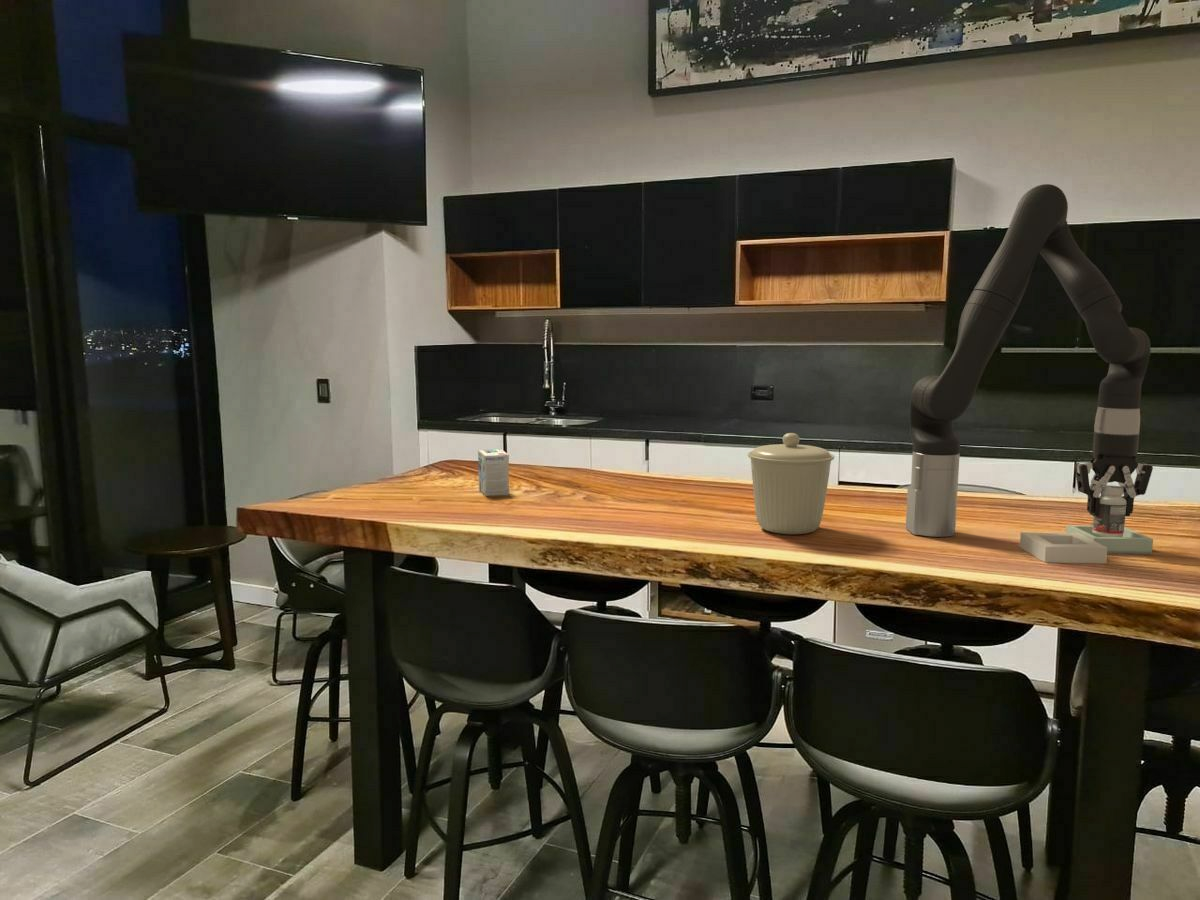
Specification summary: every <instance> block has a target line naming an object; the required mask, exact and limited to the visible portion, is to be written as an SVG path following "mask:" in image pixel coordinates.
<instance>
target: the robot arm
mask: <svg viewBox="0 0 1200 900" xmlns="http://www.w3.org/2000/svg"><path fill="white" fill-rule="evenodd" d="M1067 200H1068V199H1067V197H1066V195H1065V192H1064V191H1063V190H1062V189H1061V188H1060V187H1059V186H1056V185H1053V184H1049V183H1048V184H1046V183H1045V184H1039V185H1036V186H1034V187H1032V188H1031V189H1029V190H1028V191H1026V192H1025V193H1024V194H1023V195H1022V196H1021V198H1020V200H1019V201H1018V203H1017V205H1016V208H1015V211H1014V213H1013V216H1012V218H1011V221H1010V223H1009V225H1008V229H1007V230H1006V233H1005V235H1004V238H1003V240H1002V242H1001V243H1000V244H999V245H1000V246H999V247H998V249H997V250H996V252H995V254H994V255H993V257H992V258H991V260H990V261H989V263H988V265H987V266H986V268H985V269H984V271H983V272H982V275H981V277H980V279H979V280H978V282H977V283H976V285H975V286H974V288H973V290H972V292H971V294H970V296H969V298H968V299H967V301H966V303H965V305H964V307H963V310H962V312H961V315H960V319H959V324H958V331H957V332H958V333H957V339H956V345H955V349H954V351H953V353H952V356H951V358H950V359H949V361H948V362H947V364H946V366H945V368H944V369H943V371H942V372H941V374H940V375H934V374H933V375H932V374H931V375H927V376H924V377H922V378H920V379H919V380H918V381H917V382H916V383H915V385H914V386H913V388H912V391H911V394H910V401H909V403H910V404H909V435H910V439H911V442H912V458H911V459H912V460H911V461H912V462H911V478H910V479H911V480H910V485H909V484H908V486H907V496H906V497H907V499H906V517H905V529H906V530H907V531H908V532H910V533H911V534H912V535H914V536H915V535H916V536H924V537H932V538H933V537H934V538H936V537H937V538H938V537H939V538H946V537H952V536H954V535H955V534H956V525H957V523H956V522H957V521H956V520H957V507H958V506H957V504H958V490H959V489H958V488H959V473H960V472H959V470H960V457H961V455H960V454H961V453H960V452H961V442H960V439H959V438H958V436H957V435H956V434H955V432H954V428H953V422H954V421H956V420H958V419H959V418H960V417H962V416H963V415H964V414H965V412H966V411H967V410H968V408H969V406H970V405H971V402H972V400H973V397H974V395H975V392H976V390H977V388H978V385H979V383H980V380H981V378H982V377H983V376H982V375H983V373H984V371H985V369H986V366H987V364H988V363H989V360H990V358H991V357H992V355H993V353H994V352H995V350H996V349H997V346H998V345H999V342H1000V340H1001V338H1002V336H1003V334H1004V332H1005V331H1006V330H1007V327H1008V326H1009V324H1010V323H1011V321H1012V319H1013V317H1014V316H1015V313H1016V311H1017V309H1018V307H1019V305H1020V304H1021V302H1022V299H1023V296H1024V294H1025V292H1026V290H1027V288H1028V283H1029V282H1030V281H1029V280H1030V277H1031V275H1032V271H1033V269H1034V265H1035V262H1036V260H1037V258H1038V256H1039V254H1040V256H1041V257H1042V258H1043V259H1044V261H1046V263H1047V264H1048V266H1049V267H1050V268H1051V270H1052V271H1053V273H1054V274H1055V277H1057V279H1058V281H1059V283H1060V284H1061V286H1062V287H1063V289H1064V291H1065V293H1066V294H1067V296H1068V298H1069V300H1070V301H1071V303H1072V304H1073V306H1074V307H1075V309H1076V311H1077V313H1078V314H1079V315H1080V317H1081V318H1082V320H1083V322H1084V323H1085V326H1086V330H1087V333H1088V336H1089V338H1090V341H1091V343H1092V346H1093V348H1094V349H1095V352H1096V353H1097V354H1098V356H1099V357H1100V358H1101V359H1102V360H1103V361H1104V362H1106V363H1109V365H1108V371H1107V375H1106V376H1105V377H1104V378H1103V379H1102V380H1101V381H1100V384H1099V388H1098V401H1097V409H1096V414H1095V418H1094V426H1093V428H1094V430H1093V444H1092V458H1091V459H1090V461H1089V462H1084V463H1080V462H1077V463H1076V462H1075V464H1074V468H1075V476H1076V477H1075V478H1076V485H1077V491H1078V492H1079V493H1082V494H1085V495H1086V496H1087V505H1086V510H1087V512H1088V514H1089V515H1091V516H1093V517H1094V516H1098V514H1099V502H1100V498H1098V497H1099V496H1100V495H1101V491H1102V489H1103V488H1105V487H1106V485H1108V483H1114V482H1117V483H1118V486H1121V487H1123V495H1122V498H1124V499H1125V500H1126V514H1125V517H1130V516H1131V514H1133V511H1134V504H1135V503H1134V502H1135V501H1134V500H1135V498H1136V497H1137V496H1144V495H1145V494H1146V492H1147V490H1148V487H1149V483H1150V479H1151V477H1152V473H1153V468H1154V467H1153V465H1150V464H1148V463H1139V462H1138V461H1137V455H1138V451H1139V450H1138V449H1139V439H1140V428H1141V413H1140V411H1141V409H1140V408H1141V398H1142V397H1141V396H1142V385H1143V381H1144V378H1145V376H1146V372H1147V368H1148V365H1149V362H1150V356H1151V350H1152V349H1151V341H1150V338H1149V336H1148V334H1147V333H1146V332H1145V331H1144V330H1143V329H1140V328H1137V327H1132V326H1131V327H1129V325H1127V322H1126V320H1125V319H1124V317H1123V315H1122V313H1121V312H1122V310H1123V304H1122V303H1121V300H1120V298H1119V297H1118V295H1117V293H1116V292H1115V290H1114V289H1113V288H1112V285H1111V284H1110V282H1109V281H1108V280H1107V278H1106V276H1104V274H1103V272H1101V270H1100V269H1099V268H1098V267H1097V266H1096V264H1094V263H1093V262H1092V261H1091V260H1090V259H1089V258H1088V257H1087V255H1085V253H1084V252H1083V251H1082V250H1081V249H1080V247H1079V245H1078V243H1077V242H1076V240H1075V239H1074V236H1073V234H1072V231H1071V229H1070V226H1069V223H1068V221H1067V219H1068V211H1069V210H1068V209H1069V208H1068V207H1069V206H1068V205H1069V203H1068V201H1067ZM1091 469H1092V471H1093V472H1094V474H1093V476H1092V478H1091V480H1090V479H1089V478H1090V477H1089V475H1090V473H1091ZM1135 471H1136V476H1135V479H1134V480H1133V477H1132V475H1133V473H1134V472H1135Z"/></svg>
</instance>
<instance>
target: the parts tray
mask: <svg viewBox="0 0 1200 900" xmlns="http://www.w3.org/2000/svg"><path fill="white" fill-rule="evenodd" d="M1092 530H1093V524H1092V525H1090V524H1088V525H1085V524H1084V525H1082V524H1081V525H1079V524H1076V525H1075V524H1072V525H1069V524H1067V525H1066V529H1065V533H1079V534H1081V535H1083V536H1085V537H1087V538H1089V539H1091V540H1093V541H1095V542H1097V543H1099V544H1101V545H1103V546H1105V547H1107V555H1108V554H1110V555H1113V554H1114V555H1115V554H1116V555H1153V554H1152V553H1153V548H1154V547H1153V546H1154V545H1153V544H1154V539H1153V538H1152V537H1150V536H1147V535H1144V534H1142V533H1140V532H1137V531H1135V530H1133V529H1130V528H1128V527H1125V526H1124V534H1123V536H1122V537H1104V536H1099V535H1096V534H1094V533H1093V532H1092Z"/></svg>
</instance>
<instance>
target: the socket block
mask: <svg viewBox="0 0 1200 900" xmlns="http://www.w3.org/2000/svg"><path fill="white" fill-rule="evenodd" d="M1019 548H1020V549H1022V550H1023V551H1026V552H1027V553H1028V554H1030V555H1032V556H1033V557H1035V558H1037V559H1038V560H1040V561H1042V562H1043V563H1059V564H1060V563H1065V564H1066V563H1067V564H1068V563H1069V564H1070V563H1072V564H1107V559H1108V556H1107V555H1108V554H1107V547H1105V546H1103V545H1101V544H1099V543H1097V542H1095V541H1093V540H1091V539H1089V538H1087V537H1085V536H1083V535H1081V534H1079V533H1066V532H1020V539H1019Z"/></svg>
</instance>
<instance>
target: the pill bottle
mask: <svg viewBox="0 0 1200 900" xmlns="http://www.w3.org/2000/svg"><path fill="white" fill-rule="evenodd" d="M1122 496H1124V494H1123V487H1121V486H1120V485H1115V484H1107V485H1106V487H1105V488H1103V489H1102V491H1101V493H1100V495H1099V497H1098V498H1100V502H1099V514H1098V516H1093V520H1092V525H1093V530H1092V532H1093V533H1094V534H1096V535H1099V536H1104V537H1122V536H1123V534H1124V527H1125V525H1126V524H1125V523H1126V516H1125V514H1126V500H1125V499H1124V498H1122Z"/></svg>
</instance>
